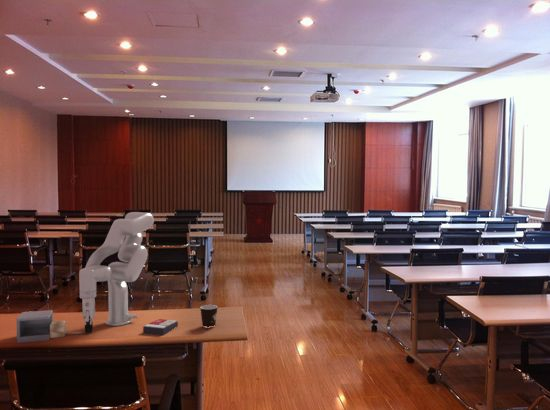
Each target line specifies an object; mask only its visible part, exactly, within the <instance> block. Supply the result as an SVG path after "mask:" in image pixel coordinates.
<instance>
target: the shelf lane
mask: <svg viewBox="0 0 550 410" xmlns="http://www.w3.org/2000/svg"><path fill="white" fill-rule="evenodd" d="M53 311H54V310H52V309H49V310H37V311H32V310H31V311H23V312H21V313H20V314H19V315H18V317H16V318H15V319H16V343H17V344H19V343H31V342H42V341H49V340H50V324H51V323H52V321H54V319H53V318H54V317H53V316H54V315H53V314H54V313H53Z"/></svg>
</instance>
